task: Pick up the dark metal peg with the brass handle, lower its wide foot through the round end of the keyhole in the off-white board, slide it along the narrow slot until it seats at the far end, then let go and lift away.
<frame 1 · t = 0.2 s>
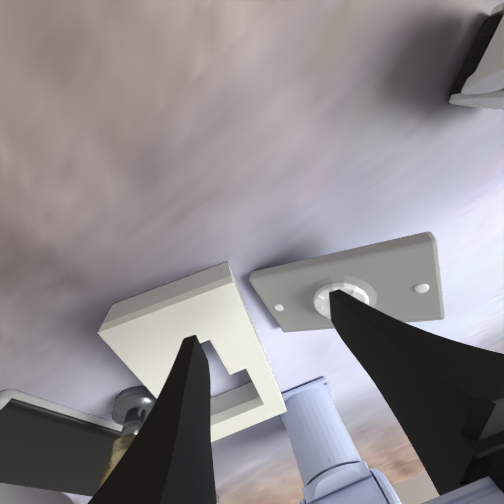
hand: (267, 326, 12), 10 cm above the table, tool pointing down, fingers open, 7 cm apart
travel mug: (200, 500, 41), on the table
keyhole board: (211, 351, 26), on the table
peg: (139, 399, 27), on the table
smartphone: (94, 448, 30), on the table
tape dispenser: (471, 65, 19), on the table
light switch: (319, 270, 24), on the table
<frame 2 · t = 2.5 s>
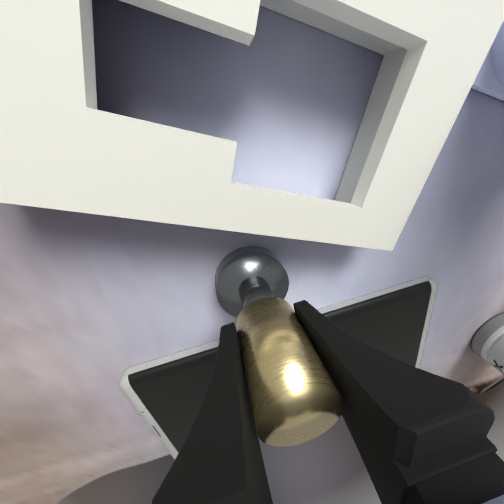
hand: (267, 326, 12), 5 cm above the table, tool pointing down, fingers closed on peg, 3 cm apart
travel mug: (491, 331, 27), on the table
keyhole board: (231, 104, 12), on the table
peg: (249, 277, 16), on the table, touching gripper
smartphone: (291, 363, 23), on the table
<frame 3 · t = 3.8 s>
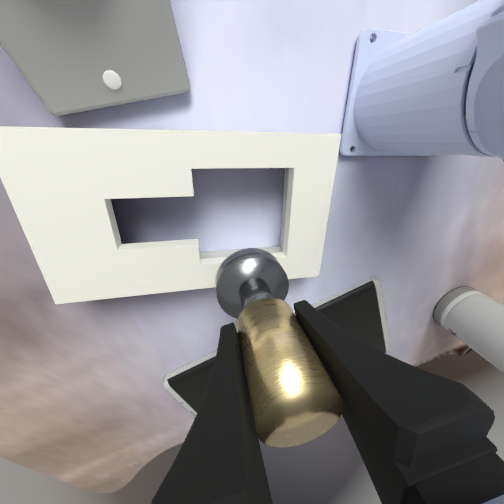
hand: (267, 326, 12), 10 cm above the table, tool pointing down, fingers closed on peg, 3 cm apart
travel mug: (451, 305, 32), on the table
keyhole board: (195, 208, 19), on the table
peg: (249, 279, 17), point 5 cm above the table, touching gripper
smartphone: (284, 354, 30), on the table
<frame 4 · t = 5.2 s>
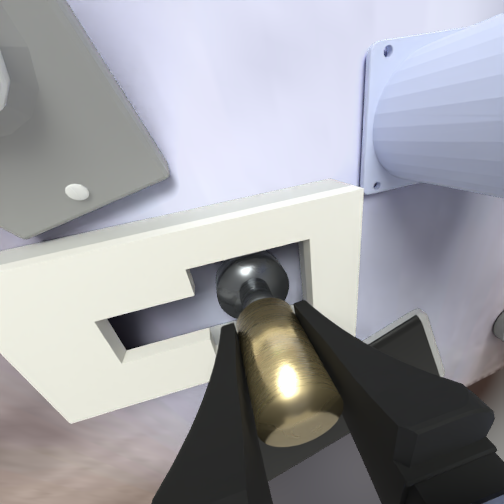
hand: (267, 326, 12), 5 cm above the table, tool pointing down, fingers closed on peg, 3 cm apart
keyhole board: (200, 285, 17), on the table
peg: (249, 279, 17), point 1 cm above the table, touching gripper
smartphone: (325, 397, 27), on the table
light switch: (8, 67, 10), on the table
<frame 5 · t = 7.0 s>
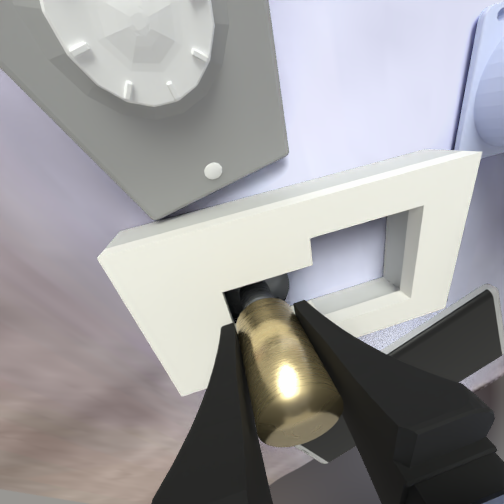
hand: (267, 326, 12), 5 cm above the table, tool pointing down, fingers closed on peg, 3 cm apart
keyhole board: (292, 262, 17), on the table
peg: (249, 279, 17), resting in keyhole board, touching gripper
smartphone: (386, 377, 28), on the table
light switch: (155, 53, 11), on the table
when the fingers open (5 cm above the table, at t = 8.2 s): peg stays where it is, resting in keyhole board.
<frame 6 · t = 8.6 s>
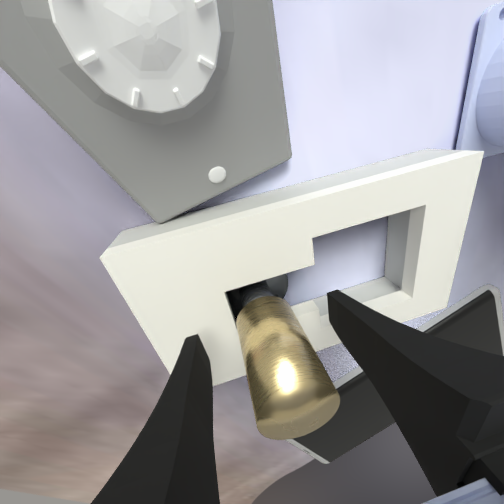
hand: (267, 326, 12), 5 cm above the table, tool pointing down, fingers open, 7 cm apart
keyhole board: (294, 261, 17), on the table
peg: (249, 277, 17), resting in keyhole board
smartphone: (387, 377, 28), on the table
light switch: (159, 59, 11), on the table
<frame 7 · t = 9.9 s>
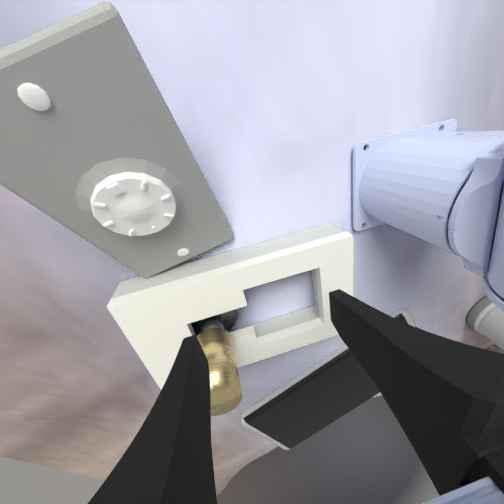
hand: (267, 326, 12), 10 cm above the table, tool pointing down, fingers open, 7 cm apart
travel mug: (483, 309, 34), on the table
keyhole board: (243, 296, 24), on the table
peg: (211, 308, 24), resting in keyhole board
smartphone: (334, 379, 35), on the table
light switch: (148, 184, 18), on the table
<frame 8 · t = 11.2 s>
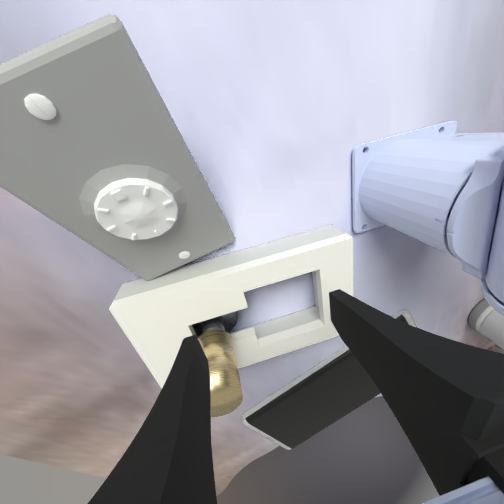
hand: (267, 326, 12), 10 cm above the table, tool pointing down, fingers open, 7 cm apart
travel mug: (485, 310, 34), on the table
keyhole board: (244, 298, 24), on the table
peg: (212, 309, 24), resting in keyhole board
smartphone: (335, 380, 35), on the table
light switch: (150, 188, 18), on the table
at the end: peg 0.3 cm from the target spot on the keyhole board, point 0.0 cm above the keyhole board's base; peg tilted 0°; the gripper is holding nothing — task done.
